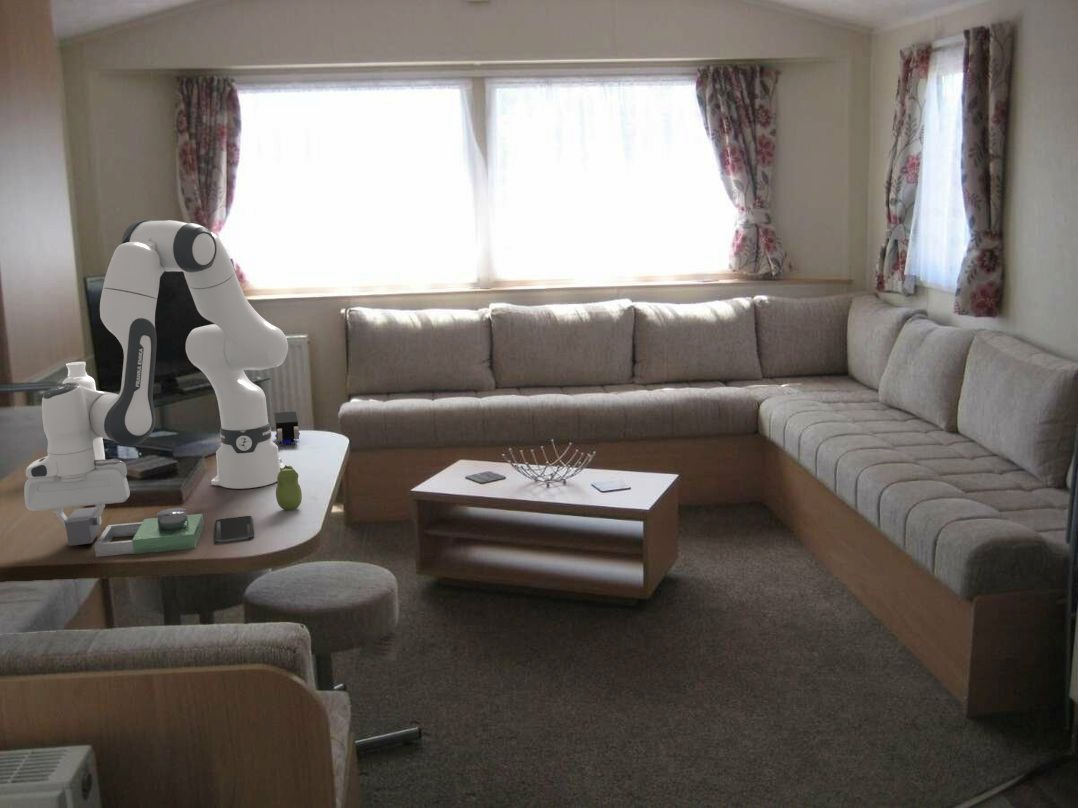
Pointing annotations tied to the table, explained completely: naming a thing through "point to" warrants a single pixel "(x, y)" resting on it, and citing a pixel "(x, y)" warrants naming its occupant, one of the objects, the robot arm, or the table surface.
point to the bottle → (80, 376)
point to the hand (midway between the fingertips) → (82, 525)
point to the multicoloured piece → (153, 534)
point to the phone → (234, 529)
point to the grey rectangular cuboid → (81, 526)
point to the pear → (288, 489)
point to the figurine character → (286, 427)
